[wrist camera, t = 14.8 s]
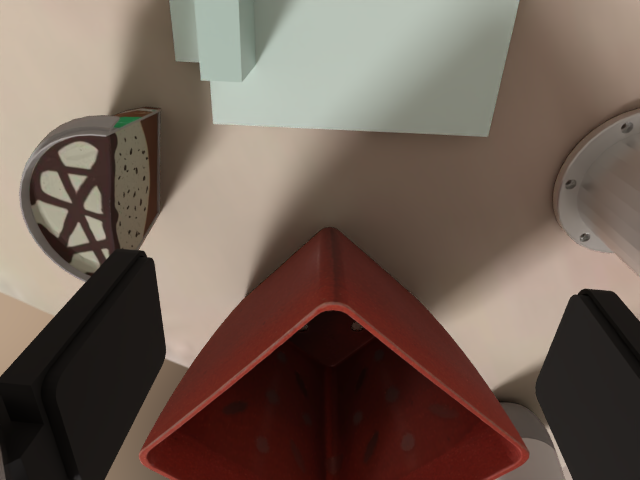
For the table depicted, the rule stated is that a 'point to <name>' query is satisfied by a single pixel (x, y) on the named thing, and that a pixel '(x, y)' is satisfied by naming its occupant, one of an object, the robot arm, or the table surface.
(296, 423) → the plant pot
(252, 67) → the lid
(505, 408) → the smart speaker
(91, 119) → the food container
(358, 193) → the table surface
